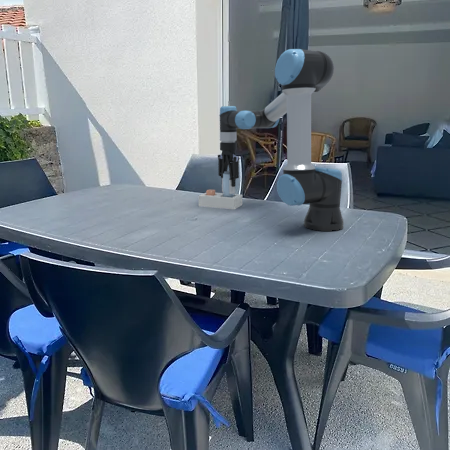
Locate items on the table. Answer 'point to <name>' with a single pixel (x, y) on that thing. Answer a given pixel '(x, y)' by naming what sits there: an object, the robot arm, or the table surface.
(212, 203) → the housing
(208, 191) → the plunger
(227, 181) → the cartridge
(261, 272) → the table surface
